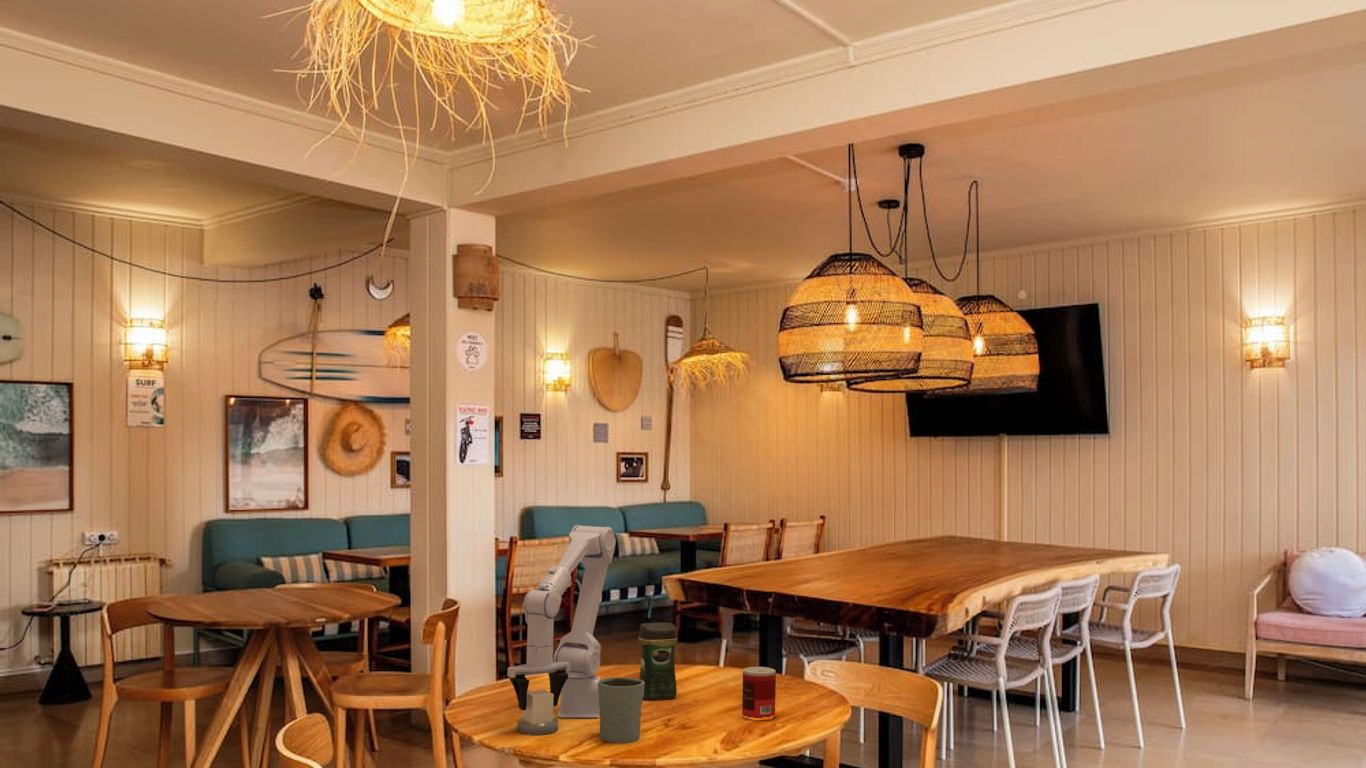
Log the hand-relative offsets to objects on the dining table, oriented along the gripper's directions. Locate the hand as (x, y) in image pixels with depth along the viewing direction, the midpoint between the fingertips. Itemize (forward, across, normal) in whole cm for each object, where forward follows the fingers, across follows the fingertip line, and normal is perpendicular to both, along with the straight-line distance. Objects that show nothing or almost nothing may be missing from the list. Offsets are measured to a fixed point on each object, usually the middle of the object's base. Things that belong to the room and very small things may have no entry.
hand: (538, 707), depth 235 cm
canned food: (+5, -50, +15) cm, 53 cm away
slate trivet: (+5, 0, 0) cm, 5 cm away
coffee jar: (+5, -40, -14) cm, 43 cm away
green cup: (+5, -12, +14) cm, 20 cm away
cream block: (+3, 0, 0) cm, 3 cm away
